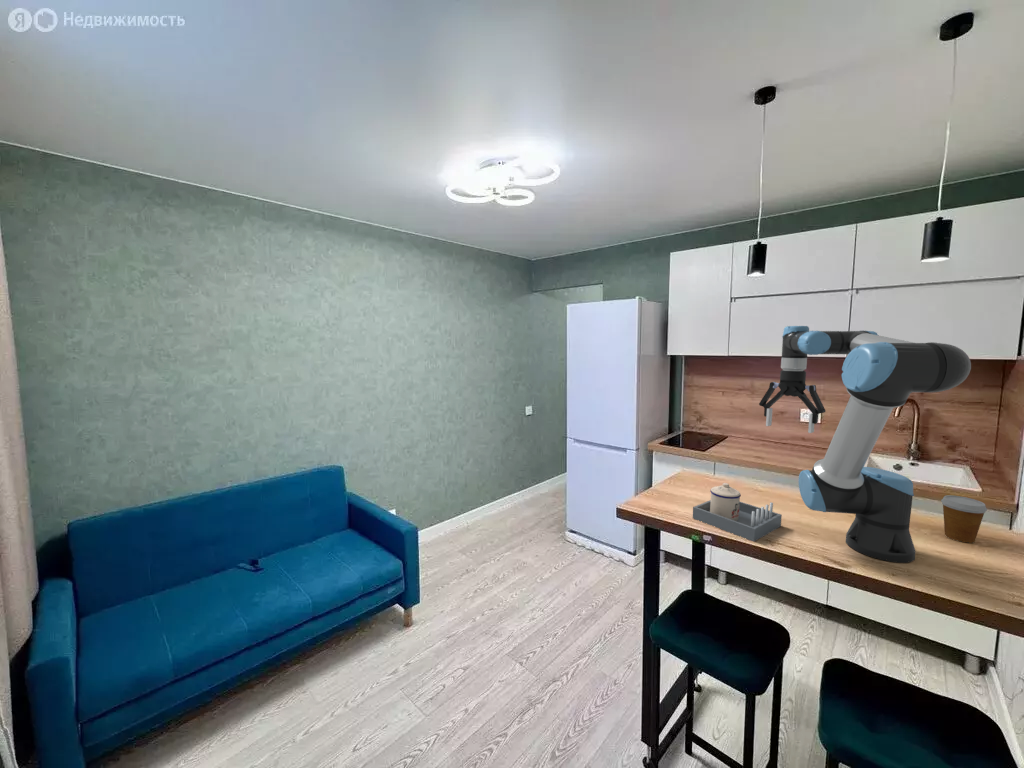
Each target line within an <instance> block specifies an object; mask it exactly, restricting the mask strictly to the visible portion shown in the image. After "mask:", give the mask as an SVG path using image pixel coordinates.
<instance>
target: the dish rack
mask: <svg viewBox="0 0 1024 768" xmlns="http://www.w3.org/2000/svg"><path fill="white" fill-rule="evenodd" d="M710 504H711V499H709V500H707V501H705V502H702V503H699V504H697V505H695V506H693V508H692V519H693V518H694V519H693V520H696V521H698V520H699V521H698V522H701V521H702V522H701V523H704V524H706V523H707V525H709V526H711V525H712V526H711V527H714V526H715V527H714V528H716V529H719V528H720V530H722V531H724V530H725V532H728V533H730V534H732V533H733V534H732V535H735V536H738V537H740V536H741V537H740V538H743V539H745V538H746V539H745V540H748V541H751V542H754V543H755V541H757V540H759V539H761V538H763V537H765V536H766V535H768V534H770V533H771V532H773V531H775V530H777V529H779V528H781V526H782V515H783V514H781V513H777V512H775V511H774V510H773V509H774V508H773V507H774V502H769V504H765V507H764V506H761V507H759V506H755V505H752V504H749V503H747V502H743V501H740V503H739V519H738V520H737V521H734V520H731V519H728V518H725V517H722V516H720V515H717V514H714V513H711V512H710Z"/></svg>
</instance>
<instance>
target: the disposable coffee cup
mask: <svg viewBox="0 0 1024 768" xmlns="http://www.w3.org/2000/svg"><path fill="white" fill-rule="evenodd" d="M940 502H941V503H942V504H941V505H942V510H943V527H944V536H945V535H946V536H947V537H946V536H945V537H946V538H948V537H949V538H948V539H950V538H951V539H950V540H953V539H954V540H953V541H956V540H958V541H957V542H960V541H962V542H961V543H965V542H969V543H968V544H973V543H972V542H974V543H975V542H976V539H977V536H978V533H979V530H980V528H981V523H982V521H983V518H984V514H985V513H986V512H987V511H988V508H987V507H986V503H984V502H983V501H980V500H978V499H974V498H970V497H966V496H962V495H961V496H959V495H951V494H949V495H944V496H943V498H942V499H941V500H940Z"/></svg>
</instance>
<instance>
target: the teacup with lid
mask: <svg viewBox="0 0 1024 768" xmlns="http://www.w3.org/2000/svg"><path fill="white" fill-rule="evenodd" d="M709 492H710V500H711V504H710V512H711V513H714V514H717V515H720V516H722V517H725V518H728V519H731V520H734V521H737V520H738V519H739V503H740V502H741V501H740V499H741V498H740V497H741V492H740V491H739V490H737V489H736V488H734V487H731V486H730V484H729V483H727V482H723V483H722V484H721V485H718V486H713V487H711V489H710V491H709Z"/></svg>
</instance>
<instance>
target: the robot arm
mask: <svg viewBox="0 0 1024 768" xmlns="http://www.w3.org/2000/svg"><path fill="white" fill-rule="evenodd" d="M782 333H783V334H782V336H781V337H782V338H781V339H782V342H781V343H782V345H781V347H782V348H781V361H780V368H781V370H780V373H779V374H780V376H779V382H776V381H772V382H769V387H768V389H767V391H766V392H765V393H764V394H763V397H762V398H761V400H760V401H759V403H758V405H759V406H761V407H762V408H764V410H763V416H764V417H766V418H765V419H766V420H765V427H770V426H772V423H773V422H772V421H773V409H774V408H773V407H772V406H773V405H774V404H775V403H776V402H778V401H779V400H780V399H781V398H782V397H784V396H785V397H789V396H790V397H794V398H795V397H798V398H799V399H800V400H801V401H802V403H803V404H804V405H805V406H806V407H807V408H808V410H809V411H810V412H811V413H809V418H808V427H807V428H808V430H807V432H808V434H812V433H815V424H818V423H819V415H820V414H825V413H826V409H825V407H824V405H823V402H822V400H821V398H820V396H819V394H818V392H817V386H816V385H815V384H811V385H807V384H806V381H807V380H806V376H807V372H806V370H807V365H808V355H809V356H815V355H816V356H817V355H847V356H846V357H845V359H844V360H843V364H842V367H841V371H842V373H841V379H842V383H843V385H844V386H845V388H846V392H847V393H848V394H849V395H850V397H849V399H848V402H847V404H846V407H845V409H844V410H843V412H842V416H841V417H840V420H839V423H838V425H837V428H836V430H835V431H834V434H833V436H832V439H831V440H830V444H829V446H828V448H827V450H826V452H825V455H824V457H823V458H822V459H818V460H817V461H815V463H814V464H813V467H812V469H810V470H809V469H802V471H800V472H799V475H798V489H799V494H800V497H801V499H802V501H803V503H804V504H805V506H806V507H807V508H808V509H809V510H812V511H817V512H822V513H836V514H852V515H853V514H854V515H855V518H854V519H853V521H852V523H851V525H850V526H849V528H848V529H847V531H846V534H845V543H846V545H847V546H848V547H850V548H851V549H852V550H855V551H856V552H859V553H860V554H862V555H865V556H868V557H871V558H873V559H878V560H881V561H886V562H890V563H891V562H892V563H902V564H904V563H905V564H907V563H912V562H913V561H915V559H916V548H915V545H914V542H913V538H912V535H911V533H910V524H911V515H912V507H913V497H914V496H915V494H914V483H913V481H912V479H910V478H909V477H907V476H905V475H902V474H900V473H896V472H894V471H890V470H885V469H882V468H877V467H872V466H865V465H866V462H867V461H868V460H869V459H868V458H869V457H870V455H871V453H872V451H873V450H874V447H875V445H876V443H877V441H878V440H879V438H880V435H881V433H882V432H883V429H885V426H886V423H887V422H888V420H889V418H890V415H891V414H892V412H893V410H894V408H899V407H902V406H904V405H905V404H906V403H907V400H908V398H909V397H910V394H912V393H940V392H943V391H948V390H951V389H953V388H955V387H958V386H959V385H961V384H962V383H963V382H964V381H966V379H967V378H968V376H969V375H970V372H971V370H972V362H971V358H970V357H969V355H968V354H967V353H966V352H965V351H964V350H963V349H961V348H960V347H958V346H956V345H952V344H949V343H948V344H947V343H943V342H942V343H941V342H931V341H930V342H913V341H908V340H904V339H898V338H893V337H888V336H883V335H879V334H878V332H876V331H871V330H845V331H843V330H840V331H839V330H810V327H809V326H808V325H789V326H788V325H787V326H785V327H784V328H783V332H782ZM777 388H779V391H778V392H777V393H776V394H775V395H774V396H773V397H772V398H771V396H772V395H773V393H774V392H775V389H777ZM805 390H807V391H808V392H809V394H810V397H811V398H812V401H813V402H812V401H811V400H810V398H809V397H808V396H807V394H806V393H805V392H804V391H805ZM770 398H771V399H770Z"/></svg>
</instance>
